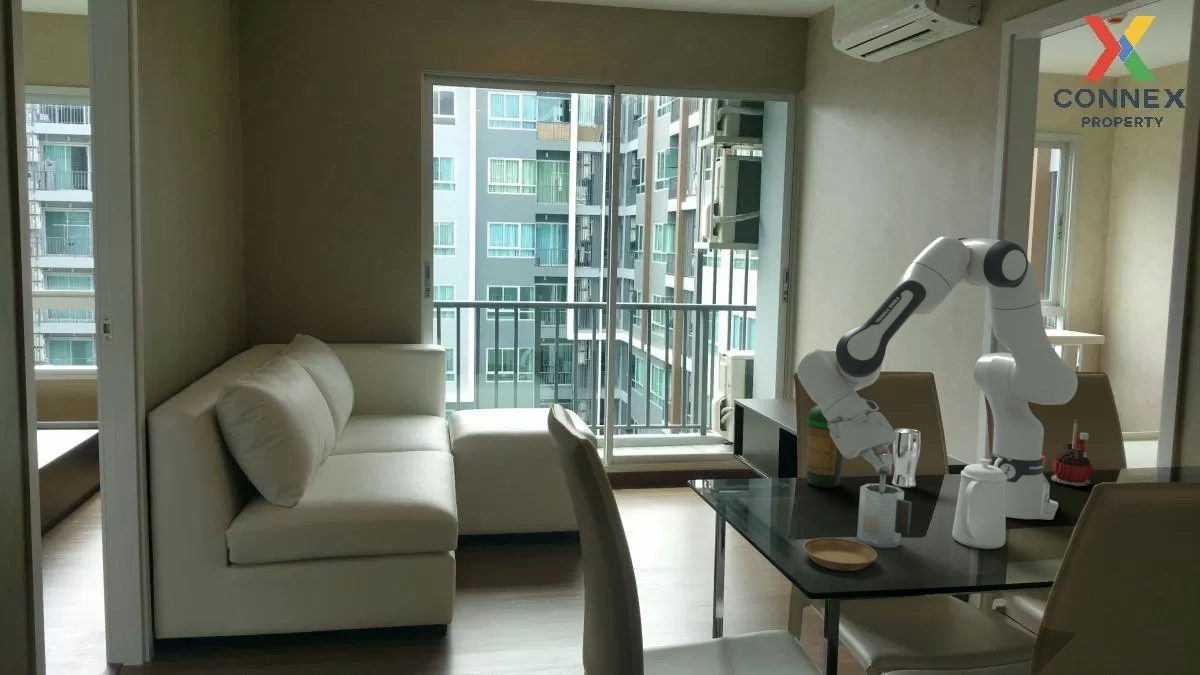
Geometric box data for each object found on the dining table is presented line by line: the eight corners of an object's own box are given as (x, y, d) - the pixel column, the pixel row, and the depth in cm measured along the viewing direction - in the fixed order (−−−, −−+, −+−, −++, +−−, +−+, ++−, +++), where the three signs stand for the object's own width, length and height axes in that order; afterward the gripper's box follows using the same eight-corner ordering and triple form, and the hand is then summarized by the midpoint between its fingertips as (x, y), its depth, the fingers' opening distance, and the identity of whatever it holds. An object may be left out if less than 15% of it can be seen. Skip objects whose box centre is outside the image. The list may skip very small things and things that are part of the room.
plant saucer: (891, 571, 179) (892, 559, 179) (829, 578, 174) (829, 565, 174) (848, 546, 193) (848, 535, 193) (788, 552, 188) (789, 540, 188)
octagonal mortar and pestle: (868, 532, 202) (872, 480, 201) (916, 545, 195) (920, 491, 193) (849, 541, 195) (852, 488, 194) (897, 555, 188) (901, 499, 187)
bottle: (794, 480, 244) (800, 379, 241) (826, 477, 248) (833, 378, 245) (819, 491, 234) (825, 386, 231) (851, 488, 239) (858, 384, 235)
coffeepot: (1020, 534, 205) (1027, 453, 203) (987, 562, 186) (994, 474, 183) (971, 523, 212) (977, 445, 209) (934, 549, 192) (941, 464, 190)
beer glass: (895, 479, 248) (898, 426, 247) (920, 484, 244) (924, 430, 243) (886, 485, 243) (890, 430, 241) (912, 489, 239) (916, 434, 237)
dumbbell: (873, 524, 199) (878, 449, 197) (896, 530, 195) (902, 454, 194) (862, 529, 195) (867, 453, 193) (885, 535, 192) (890, 458, 190)
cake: (1046, 477, 257) (1051, 415, 255) (1080, 479, 255) (1086, 417, 253) (1059, 487, 246) (1065, 423, 244) (1095, 489, 245) (1102, 425, 243)
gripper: (834, 412, 189) (874, 466, 184) (878, 401, 204) (917, 451, 199) (814, 429, 193) (853, 483, 187) (859, 417, 208) (896, 466, 202)
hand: (886, 466), depth 193 cm, fingers closed on dumbbell, 3 cm apart
